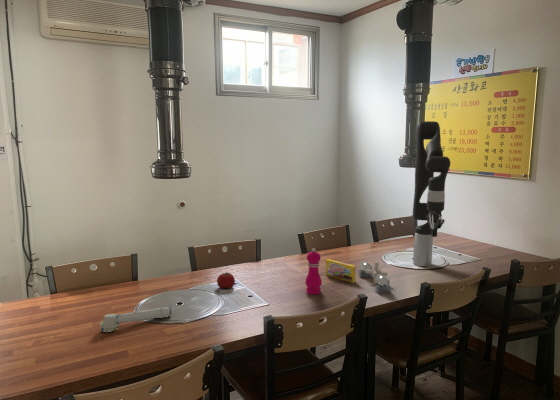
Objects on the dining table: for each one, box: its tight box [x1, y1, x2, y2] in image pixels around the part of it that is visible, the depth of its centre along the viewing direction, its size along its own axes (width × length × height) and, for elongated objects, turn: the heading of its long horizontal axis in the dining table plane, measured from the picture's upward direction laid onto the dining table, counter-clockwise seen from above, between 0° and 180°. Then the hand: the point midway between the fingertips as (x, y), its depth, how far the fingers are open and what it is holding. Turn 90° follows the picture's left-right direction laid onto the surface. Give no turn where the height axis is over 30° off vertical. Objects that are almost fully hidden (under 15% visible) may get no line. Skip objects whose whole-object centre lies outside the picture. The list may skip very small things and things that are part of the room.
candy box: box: [325, 258, 356, 284], centre depth 196 cm, size 16×2×8 cm, turn 47°
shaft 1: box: [357, 260, 373, 279], centre depth 198 cm, size 6×6×7 cm
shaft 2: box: [374, 274, 392, 295], centre depth 180 cm, size 6×6×7 cm
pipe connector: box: [365, 261, 388, 285], centre depth 190 cm, size 10×10×10 cm
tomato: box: [216, 271, 236, 289], centre depth 186 cm, size 8×8×7 cm
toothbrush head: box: [99, 306, 172, 333], centre depth 151 cm, size 5×7×25 cm
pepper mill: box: [304, 248, 323, 295], centre depth 179 cm, size 7×7×20 cm
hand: (433, 236), depth 189 cm, fingers closed
